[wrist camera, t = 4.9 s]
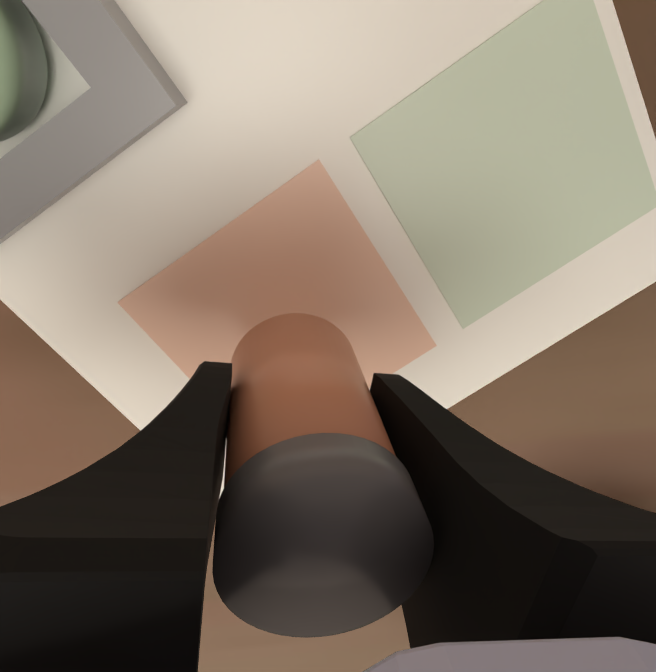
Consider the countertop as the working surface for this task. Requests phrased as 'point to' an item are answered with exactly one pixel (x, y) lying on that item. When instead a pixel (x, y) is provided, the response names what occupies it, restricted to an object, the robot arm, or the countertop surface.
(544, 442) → the countertop surface
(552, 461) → the countertop surface
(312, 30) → the white sorting board
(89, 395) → the countertop surface
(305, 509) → the cylinder
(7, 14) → the button
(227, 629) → the countertop surface
